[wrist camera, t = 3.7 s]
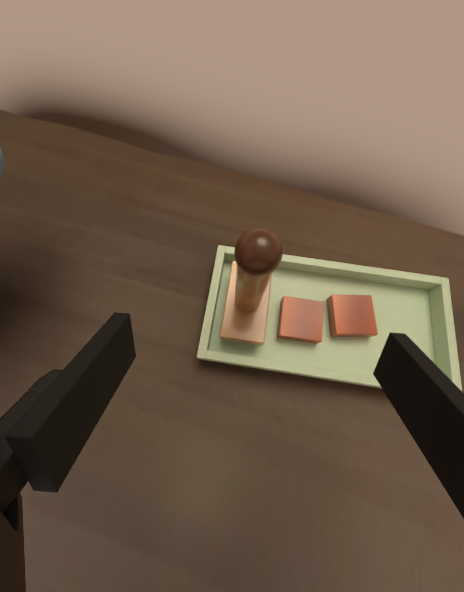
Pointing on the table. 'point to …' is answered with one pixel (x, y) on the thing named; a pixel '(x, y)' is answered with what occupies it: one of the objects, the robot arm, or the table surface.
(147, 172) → the table surface
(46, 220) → the table surface
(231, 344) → the tray
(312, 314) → the chip
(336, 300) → the orange square block
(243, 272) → the wooden handle stamp
